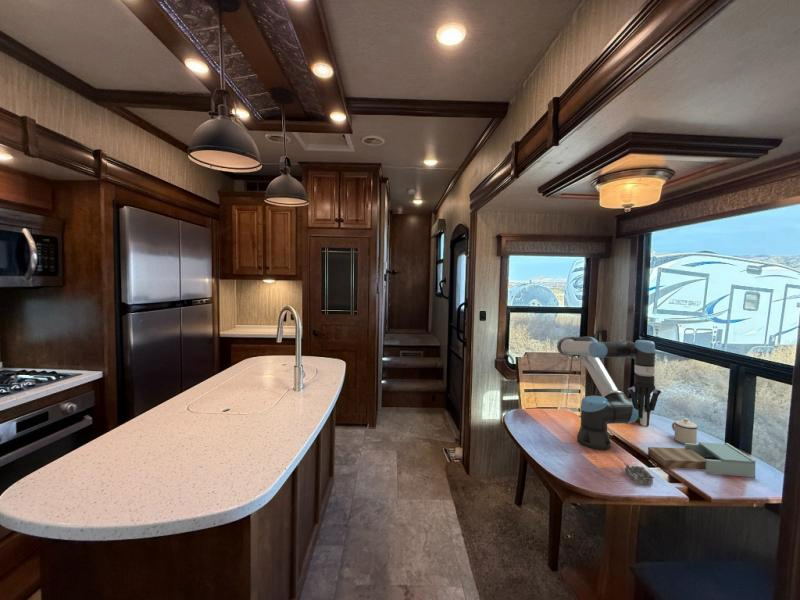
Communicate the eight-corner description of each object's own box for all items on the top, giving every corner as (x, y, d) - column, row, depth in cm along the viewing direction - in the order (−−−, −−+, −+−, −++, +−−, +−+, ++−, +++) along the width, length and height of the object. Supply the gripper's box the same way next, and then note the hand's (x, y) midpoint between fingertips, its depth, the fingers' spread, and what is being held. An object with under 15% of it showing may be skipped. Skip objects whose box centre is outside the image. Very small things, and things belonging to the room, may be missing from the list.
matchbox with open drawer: (707, 472, 145) (707, 456, 145) (684, 454, 160) (684, 439, 160) (754, 477, 141) (755, 460, 141) (727, 457, 157) (727, 443, 156)
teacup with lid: (702, 444, 170) (702, 421, 169) (685, 445, 169) (686, 422, 168) (679, 434, 182) (680, 412, 181) (664, 435, 181) (664, 413, 180)
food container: (627, 418, 204) (627, 401, 203) (638, 418, 203) (638, 402, 203) (638, 426, 192) (638, 409, 191) (650, 427, 191) (650, 409, 190)
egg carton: (622, 471, 148) (622, 462, 147) (641, 472, 146) (641, 463, 146) (635, 485, 137) (635, 475, 137) (655, 486, 136) (656, 476, 136)
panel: (664, 468, 149) (664, 459, 149) (647, 455, 161) (648, 446, 161) (709, 470, 147) (709, 461, 147) (689, 456, 159) (689, 448, 159)
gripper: (632, 375, 153) (631, 427, 154) (665, 377, 150) (664, 429, 151) (624, 371, 160) (624, 420, 161) (656, 372, 158) (655, 422, 159)
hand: (643, 424), depth 156 cm, fingers closed
